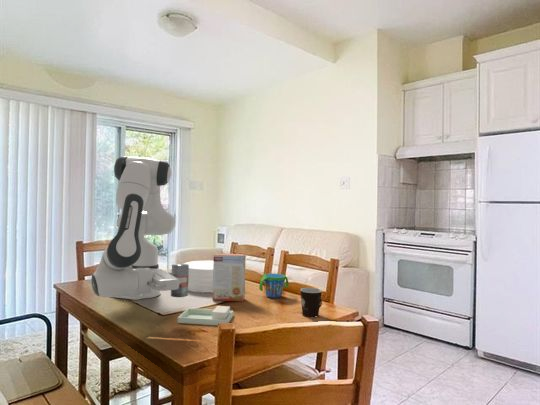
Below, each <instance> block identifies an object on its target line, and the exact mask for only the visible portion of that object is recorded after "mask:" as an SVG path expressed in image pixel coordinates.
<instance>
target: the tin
mask: <svg viewBox="0 0 540 405" xmlns="http://www.w3.org/2000/svg"><path fill="white" fill-rule="evenodd" d="M171 273H172V276H174V277H176V278H181V277H186V278H187V282H185V283H181V284H179V288H178V289H177V290H170V296H171V297H173V298H184V297H188V296H189V291H188V278H189V265H188V264H184V263H172V265H171Z"/></svg>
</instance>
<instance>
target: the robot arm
mask: <svg viewBox="0 0 540 405" xmlns="http://www.w3.org/2000/svg"><path fill="white" fill-rule="evenodd" d="M113 173H114V177H115V178H116V179H117V181H118V186H117V188H116V195H115V200H116V201H115V202H116V205H117V207H118V208H119V209H121V214H120V215H118V218H117V220H116V227H117V229H118V230H117V232H116V235H115V236H114V237H113V238H112V239H111V241H110V242H109V244H108V246H107V247H105V249H104V251H103V252H102V255H101V259H100V261H99V264H98V266H97V268H96V270H95V271H94V273H93V274H92V275H91V287H92V290H93V293H94V294H95V295H96V296H98V297H100V298H118V299H127V300H132V301H133V300H135V301H136V300H138V301H139V300H143V299H150V298H155V297H158V296H160V295H161V292H164V291H171V290H177V289H178V288H179V284H181V283H185V282H187V278H186V277H181V278H176V277H174V276H172V272H167V271H165V270H164V269H161V268H159V267H160V266H159V265H160V264H159V248H158V246H156V244H154V243H153V242H150V241H148V240H147V239H146V238H145V236H163V235H168V234H171V233H173V231H174V229H175V227H176V220H175V216H173V214H172V213H171V212H169V211H167V210H166V209H165V208H164V206H163V204H162V202H161V187H163V186H166V185H167V184H168V183H169V181H170V179H171V177H172V169H171V165H170V164H169V162H167V161H165V160H162V159H160V160H159V159H155V158H151V157H146V156H145V157H140V156H129V155H122V156H119V157H118V158H117V159H116V160H115V163H114V165H113Z"/></svg>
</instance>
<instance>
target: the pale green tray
mask: <svg viewBox="0 0 540 405" xmlns="http://www.w3.org/2000/svg"><path fill="white" fill-rule="evenodd" d="M213 310H214V309H213V308H212V309H209V308H195V307H194V308H193V307H191V308H190V307H188V308H187V309H185V310H184V311H183V312H182V313H180V315H179V316H178V317H177V324H188V325H189V324H191V325H192V324H193V325H206V326H219V325H218V324H219V323H228V324H229V323H230V322H231V320H232V318H234V310H230V314H229V316H228V317H227V319H226V320H221V319H212V311H213Z"/></svg>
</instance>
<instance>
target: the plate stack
mask: <svg viewBox="0 0 540 405" xmlns="http://www.w3.org/2000/svg"><path fill="white" fill-rule="evenodd" d="M213 263H214V260H191V261H188V262H187V261H186V262H184V263H183V264H188V265H189V278H188V292H193V293H204V292H211V293H213Z"/></svg>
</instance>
